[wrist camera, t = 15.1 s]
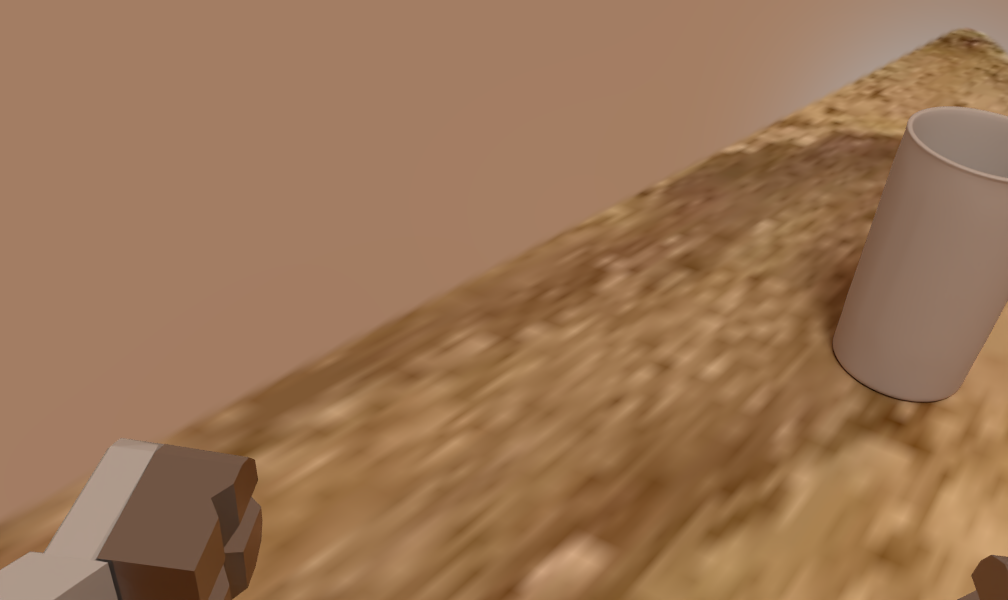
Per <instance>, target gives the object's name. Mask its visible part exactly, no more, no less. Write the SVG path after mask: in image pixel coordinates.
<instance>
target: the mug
mask: <svg viewBox="0 0 1008 600" xmlns="http://www.w3.org/2000/svg"><path fill="white" fill-rule="evenodd" d="M1007 301H1008V116H1004V115H1001V114H997V113H993V112H989V111H984V110H979V109H973V108H966V107H933V108H928V109H924V110H921V111H919V112H917V113H915V114H913V115H912V116H911V117H910V118H909V120H908V123H907V127H906V130H905V133H904V135H903V138H902V141H901V143H900V146H899V148H898V151H897V153H896V156H895V159H894V161H893V164H892V167H891V170H890V173H889V176H888V178H887V181H886V184H885V187H884V190H883V193H882V196H881V199H880V202H879V205H878V208H877V211H876V214H875V216H874V219H873V222H872V225H871V228H870V231H869V234H868V237H867V240H866V243H865V246H864V248H863V251H862V254H861V257H860V260H859V263H858V266H857V269H856V271H855V274H854V277H853V280H852V283H851V286H850V288H849V291H848V294H847V297H846V300H845V304H844V307H843V310H842V313H841V316H840V319H839V322H838V325H837V328H836V331H835V334H834V337H833V349H834V353H835V355H836V357H837V359H838V361H839V362H840V364H841V365H842V366H843V368H844V369H845V370H846V371H847V372H848V373H849V374H850V375H852V376H853V377H854V378H855V379H857V380H858V381H859V382H861V383H862V384H864V385H866V386H867V387H869V388H871V389H873V390H875V391H877V392H880V393H882V394H885V395H887V396H890V397H894V398H897V399H901V400H907V401H914V402H932V401H938V400H942V399H945V398H947V397H949V396H951V395H953V394H954V393H955V392H956V391H957V390H958V389H959V388H960V386H961V385H962V383H963V381H964V380H965V378H966V376H967V374H968V372H969V370H970V368H971V367H972V365H973V363H974V361H975V359H976V358H977V356H978V354H979V352H980V351H981V349H982V347H983V346H984V344H985V342H986V340H987V338H988V337H989V335H990V333H991V331H992V329H993V327H994V325H995V323H996V321H997V320H998V318H999V316H1000V314H1001V312H1002V310H1003V308H1004V306H1005V305H1006V303H1007Z"/></svg>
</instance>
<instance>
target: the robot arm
mask: <svg viewBox="0 0 1008 600" xmlns="http://www.w3.org/2000/svg"><path fill="white" fill-rule="evenodd" d="M257 481H258V476H257V470H256V464H255V460H254V459H252V458H249V457H243V456H237V455H230V454H224V453H218V452H212V451H205V450H199V449H193V448H186V447H180V446H174V445H168V444H158V443H152V442H145V441H138V440H132V439H124V438H120V439H119V440H118V441H116V442H115V443H114V444H113V445H112V446H110V447H109V448H108V449H107V451H106V453H105V454H104V456H103V457H102V459H101V461H100V462H99V464H98V465H97V467H96V469H95V470H94V472H93V474H92V475H91V477H90V478H89V480H88V482H87V483H86V485H85V487H84V488H83V490H82V491H81V493H80V495H79V496H78V498H77V499H76V501H75V503H74V504H73V506H72V508H71V509H70V511H69V512H68V514H67V516H66V517H65V519H64V521H63V522H62V524H61V525H60V527H59V529H58V530H57V532H56V533H55V535H54V537H53V538H52V540H51V542H50V543H49V545H48V546H47V548H46V550H45V551H44V553H39V552H28V553H27V554H25V555H24V556H22V557H20V558H19V559H17V560H16V561H14V562H12V563H11V564H9V565H7V566H6V567H4V568H3V569H1V570H0V600H232V599H233V598H235V597H236V596H237V595H239V594H240V593H241V592H243V591H244V590H245V589H247V588H248V586H249V583H250V580H251V577H252V575H253V572H254V569H255V566H256V562H257V558H258V553H259V549H260V544H261V537H262V512H261V506H260V505H259V504H258V503H257V502H256V501H255V500H254V499H253V498H252V497H251V496H252V494H253V491H254V489H255V486H256V484H257ZM971 576H972V579H973V582H974V584H975V587H976V591H974V592H972V593H970V594H968V595H966V596H964V597H962V598H960V599H958V600H1008V557H1005V556H996V555H990V556H988V557H987V558H985V559H983V560H981V561H980V563H979V564H978V566H977V567H976V569H975V570H974V572H973V574H972V575H971Z"/></svg>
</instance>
